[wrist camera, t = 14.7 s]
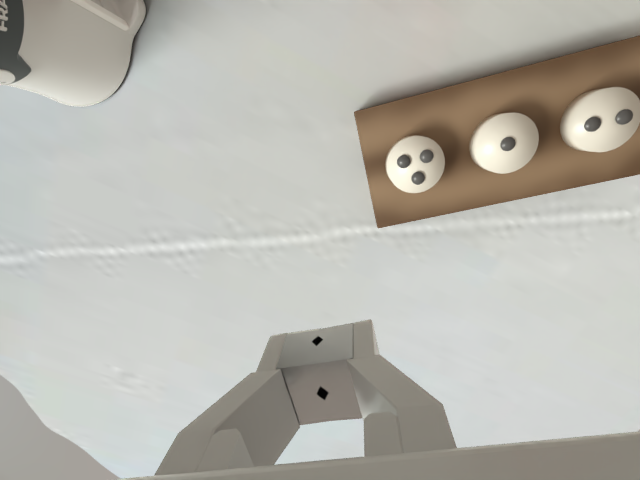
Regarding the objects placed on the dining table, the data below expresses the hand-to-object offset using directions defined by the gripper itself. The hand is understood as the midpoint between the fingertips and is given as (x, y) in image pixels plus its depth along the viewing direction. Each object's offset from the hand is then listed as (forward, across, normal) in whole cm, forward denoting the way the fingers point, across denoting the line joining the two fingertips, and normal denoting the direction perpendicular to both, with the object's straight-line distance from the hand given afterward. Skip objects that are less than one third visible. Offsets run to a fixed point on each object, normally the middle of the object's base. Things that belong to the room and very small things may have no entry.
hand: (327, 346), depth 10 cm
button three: (+26, -7, -1) cm, 27 cm away
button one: (+26, -15, -1) cm, 30 cm away
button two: (+26, -23, -1) cm, 34 cm away
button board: (+29, -15, -1) cm, 33 cm away
